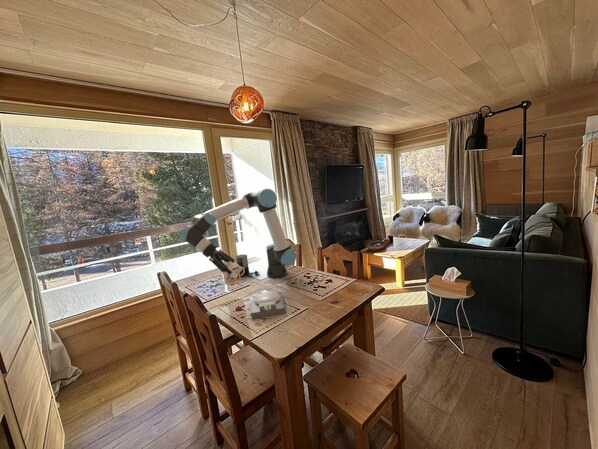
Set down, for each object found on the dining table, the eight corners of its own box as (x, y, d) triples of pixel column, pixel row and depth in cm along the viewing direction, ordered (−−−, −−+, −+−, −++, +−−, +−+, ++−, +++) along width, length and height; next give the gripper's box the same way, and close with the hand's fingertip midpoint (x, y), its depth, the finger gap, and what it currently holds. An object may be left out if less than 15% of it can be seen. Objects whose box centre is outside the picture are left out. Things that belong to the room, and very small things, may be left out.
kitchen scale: (253, 301, 146) (251, 290, 145) (282, 296, 148) (281, 286, 147) (251, 318, 127) (250, 307, 126) (285, 313, 129) (284, 301, 128)
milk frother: (237, 273, 196) (234, 255, 194) (257, 270, 201) (255, 252, 198) (238, 280, 183) (235, 260, 180) (260, 275, 187) (257, 256, 185)
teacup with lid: (226, 286, 134) (223, 265, 132) (222, 281, 142) (219, 261, 140) (248, 280, 140) (245, 260, 138) (243, 276, 148) (240, 257, 146)
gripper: (210, 247, 149) (240, 271, 151) (193, 258, 128) (228, 286, 129) (217, 238, 148) (247, 262, 150) (202, 247, 126) (237, 275, 128)
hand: (239, 273), depth 139 cm, fingers closed on teacup with lid, 9 cm apart
